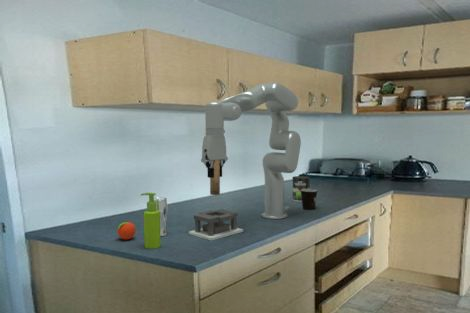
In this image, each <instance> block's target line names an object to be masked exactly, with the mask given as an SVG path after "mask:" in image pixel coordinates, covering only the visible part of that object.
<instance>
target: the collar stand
mask: <svg viewBox="0 0 470 313" xmlns="http://www.w3.org/2000/svg"><path fill="white" fill-rule="evenodd" d="M238 214H239V213H238V212H236V211H231V210H226V209H222V208H220V209H216V210H207V211H201V212H199V214H193V220H194V230H190V231H188V235H191V236H195V237H198V238H201V239H205V240H209V241H215V240H218V239H223V238H226V237H229V236H233V235H236V234H239V233H243V232H244V229H243V228H240V227H237V217H238ZM229 220H230V224H229V223H224V222H225V221H229ZM201 222H204V223H203V224H202V227H201ZM205 222H206V223H205Z"/></svg>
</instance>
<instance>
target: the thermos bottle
mask: <svg viewBox="0 0 470 313" xmlns="http://www.w3.org/2000/svg"><path fill="white" fill-rule="evenodd" d="M212 168H214V178H209V189H210V190H209V195H211V196H218V195H219V196H220V195H221V177H220V160H219V159H218V160H214V161H213V167H212Z"/></svg>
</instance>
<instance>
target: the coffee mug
mask: <svg viewBox="0 0 470 313" xmlns="http://www.w3.org/2000/svg"><path fill="white" fill-rule="evenodd" d="M317 194H318V190H317V189H311V188H310V189H303V190H301V196H302V202H301V204H302V210H305V211H314V210H316V204H317V203H316V202H317V196H318V195H317Z"/></svg>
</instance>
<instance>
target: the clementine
mask: <svg viewBox="0 0 470 313" xmlns="http://www.w3.org/2000/svg"><path fill="white" fill-rule="evenodd" d="M136 229H137V228H136V226H135V225H134V224H133V222H130V221H125V222H124V221H123V222H122V223H120V224H118V227H117V230H116V231H117V235H118V237H119V238H121V239H122V240H130V239H132V238H133V237H134V236H135V234H136V231H137V230H136Z"/></svg>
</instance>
